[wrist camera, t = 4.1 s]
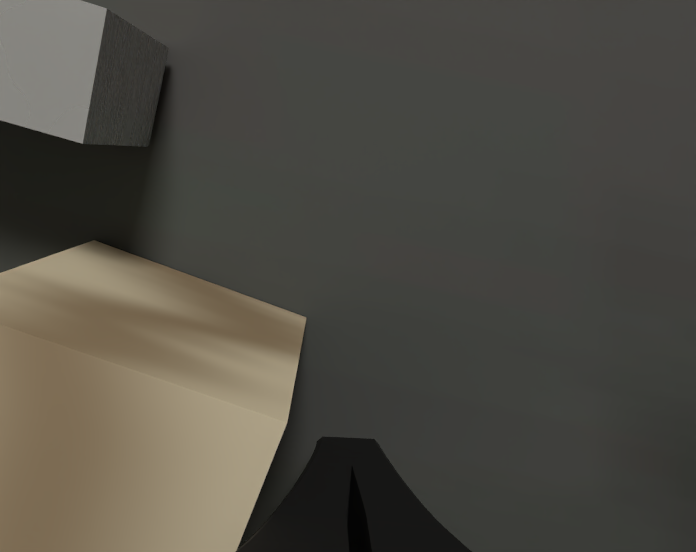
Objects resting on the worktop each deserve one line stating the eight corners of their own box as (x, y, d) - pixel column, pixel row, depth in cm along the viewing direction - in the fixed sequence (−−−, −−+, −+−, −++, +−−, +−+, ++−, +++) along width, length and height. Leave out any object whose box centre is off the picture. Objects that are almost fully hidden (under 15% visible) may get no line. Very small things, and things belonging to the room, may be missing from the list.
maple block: (306, 317, 12) (287, 422, 8) (236, 498, 13) (179, 693, 9) (94, 240, 12) (-74, 298, 7) (37, 433, 13) (-144, 602, 8)
